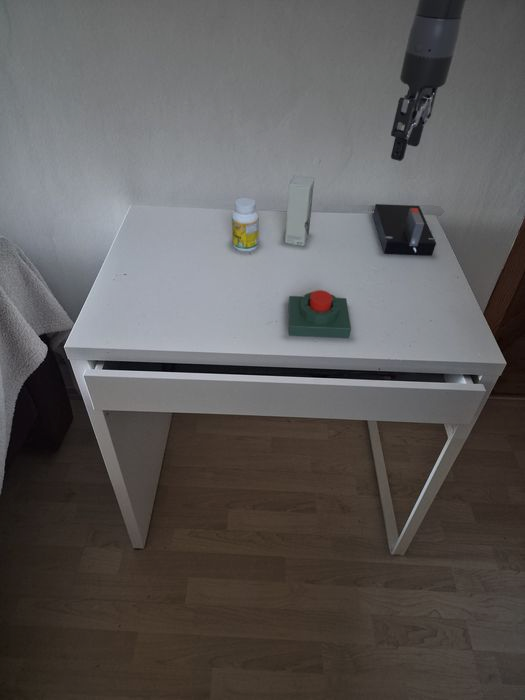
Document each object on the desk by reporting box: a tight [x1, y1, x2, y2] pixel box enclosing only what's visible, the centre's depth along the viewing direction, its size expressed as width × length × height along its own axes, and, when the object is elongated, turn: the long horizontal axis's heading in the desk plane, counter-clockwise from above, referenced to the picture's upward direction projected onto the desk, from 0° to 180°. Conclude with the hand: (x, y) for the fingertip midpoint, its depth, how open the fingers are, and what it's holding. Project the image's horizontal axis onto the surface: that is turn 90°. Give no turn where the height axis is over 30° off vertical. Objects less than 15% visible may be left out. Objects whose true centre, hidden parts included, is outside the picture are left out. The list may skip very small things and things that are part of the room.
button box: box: [288, 291, 352, 339], centre depth 75 cm, size 10×8×4 cm
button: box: [309, 289, 332, 312], centre depth 74 cm, size 4×4×2 cm
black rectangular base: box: [372, 203, 437, 257], centre depth 95 cm, size 20×10×3 cm, turn 178°
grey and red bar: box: [404, 208, 424, 246], centre depth 89 cm, size 6×2×5 cm, turn 178°
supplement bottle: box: [231, 197, 260, 252], centre depth 90 cm, size 5×5×10 cm
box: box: [284, 174, 315, 247], centre depth 91 cm, size 5×4×13 cm
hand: (404, 152), depth 83 cm, fingers open, 8 cm apart
